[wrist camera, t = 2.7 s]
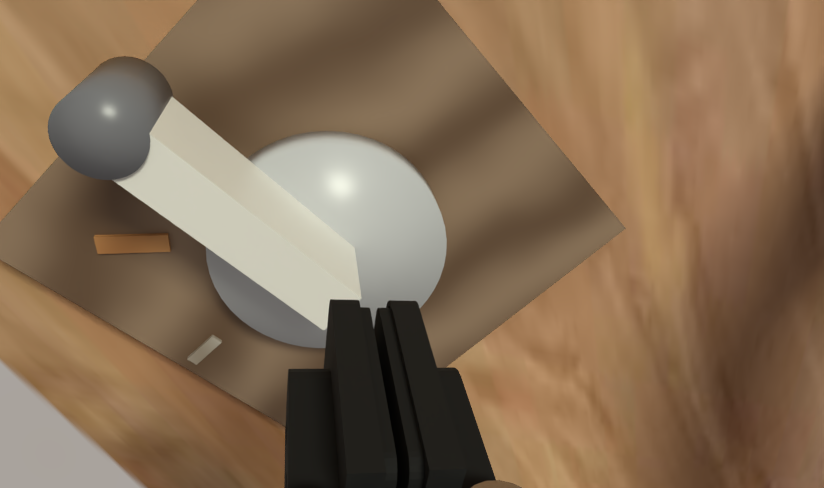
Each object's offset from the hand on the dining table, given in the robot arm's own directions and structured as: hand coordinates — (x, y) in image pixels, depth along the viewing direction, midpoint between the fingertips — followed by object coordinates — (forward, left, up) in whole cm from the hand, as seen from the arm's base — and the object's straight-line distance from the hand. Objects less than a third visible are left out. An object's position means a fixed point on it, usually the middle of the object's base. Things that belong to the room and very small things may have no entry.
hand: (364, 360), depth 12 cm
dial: (-1, +5, -17) cm, 17 cm away
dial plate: (-5, +5, -19) cm, 20 cm away
